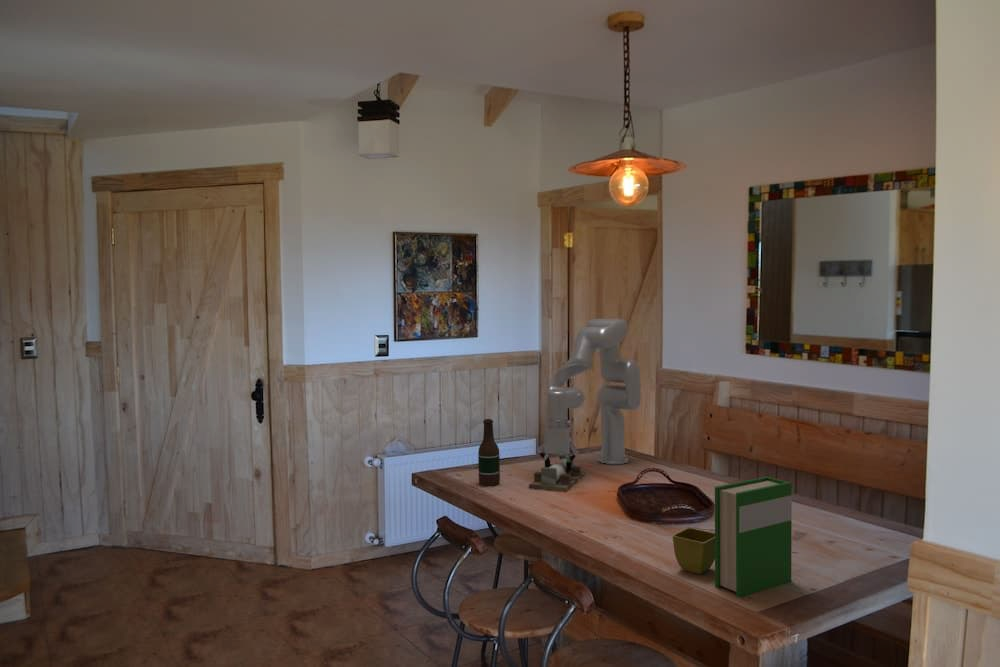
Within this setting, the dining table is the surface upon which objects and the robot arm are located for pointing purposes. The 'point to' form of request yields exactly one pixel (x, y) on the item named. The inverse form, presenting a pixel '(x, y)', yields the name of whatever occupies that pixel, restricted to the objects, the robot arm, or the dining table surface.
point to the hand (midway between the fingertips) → (558, 471)
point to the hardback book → (753, 535)
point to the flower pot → (694, 549)
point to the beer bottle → (488, 457)
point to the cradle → (549, 478)
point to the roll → (560, 467)
